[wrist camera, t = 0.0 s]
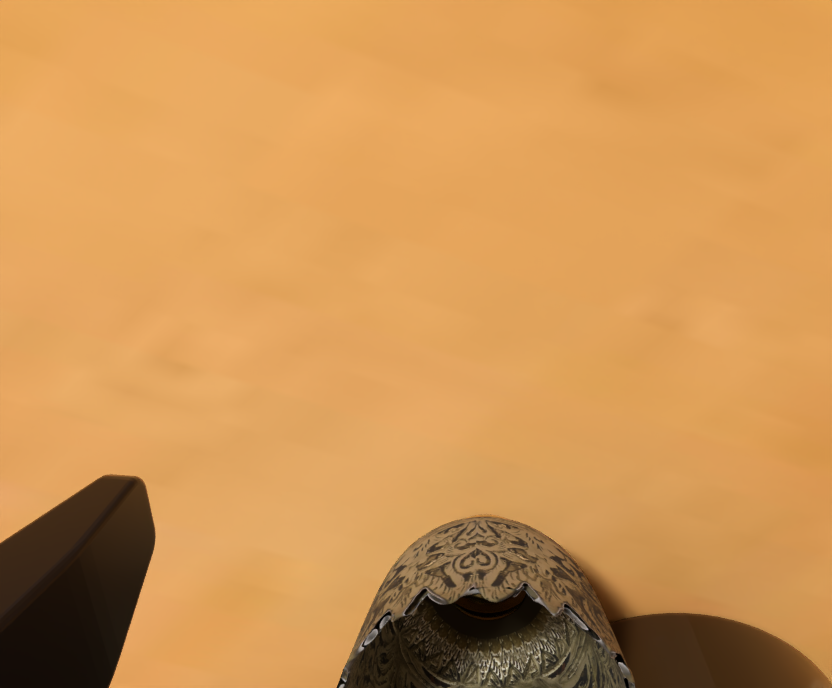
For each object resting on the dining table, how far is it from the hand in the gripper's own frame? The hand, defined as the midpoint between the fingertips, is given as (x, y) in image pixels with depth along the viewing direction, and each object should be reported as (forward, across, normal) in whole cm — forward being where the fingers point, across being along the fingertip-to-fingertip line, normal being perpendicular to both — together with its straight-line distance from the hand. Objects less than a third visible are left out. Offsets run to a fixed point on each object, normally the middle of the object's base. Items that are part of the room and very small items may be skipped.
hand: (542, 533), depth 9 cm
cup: (+13, 0, +13) cm, 19 cm away
